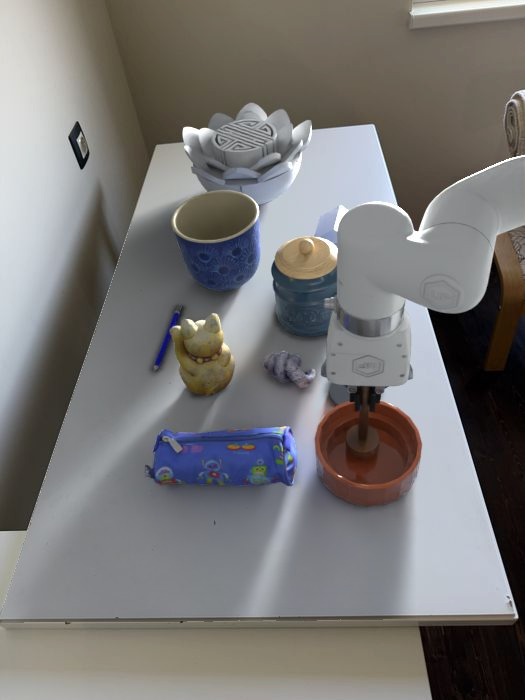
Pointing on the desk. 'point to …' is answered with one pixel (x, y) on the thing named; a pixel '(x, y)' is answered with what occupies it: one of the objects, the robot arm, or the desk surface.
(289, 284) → the canister
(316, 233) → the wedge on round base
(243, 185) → the decorative bowl
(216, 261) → the planter
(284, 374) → the seashell
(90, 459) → the desk surface
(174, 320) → the pencil
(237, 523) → the desk surface
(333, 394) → the grey round base
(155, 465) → the pencil case
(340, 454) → the mixing bowl
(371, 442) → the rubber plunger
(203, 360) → the decorative figurine
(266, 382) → the desk surface
